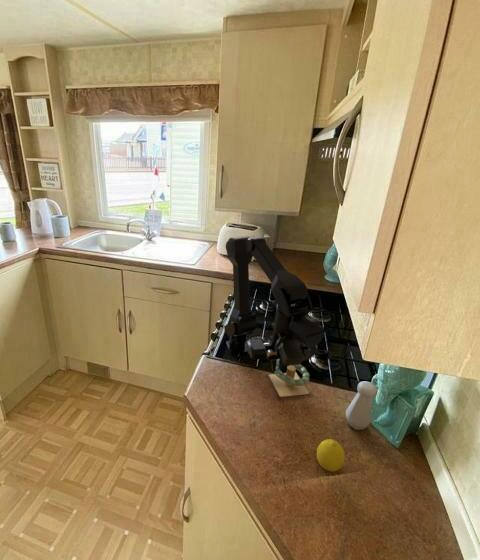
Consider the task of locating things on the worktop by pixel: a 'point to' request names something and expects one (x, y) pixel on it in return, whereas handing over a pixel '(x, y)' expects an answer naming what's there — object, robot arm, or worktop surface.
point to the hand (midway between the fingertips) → (276, 370)
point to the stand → (286, 388)
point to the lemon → (330, 455)
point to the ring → (290, 380)
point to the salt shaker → (361, 406)
